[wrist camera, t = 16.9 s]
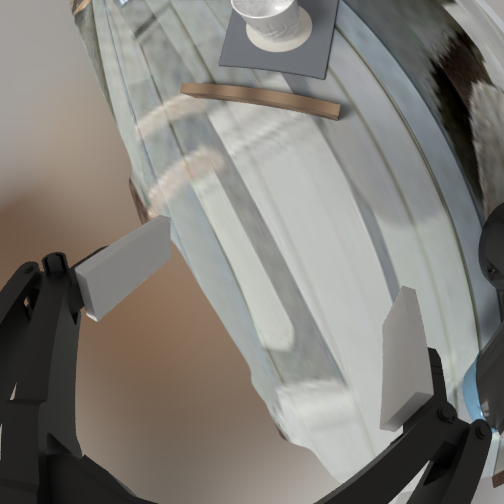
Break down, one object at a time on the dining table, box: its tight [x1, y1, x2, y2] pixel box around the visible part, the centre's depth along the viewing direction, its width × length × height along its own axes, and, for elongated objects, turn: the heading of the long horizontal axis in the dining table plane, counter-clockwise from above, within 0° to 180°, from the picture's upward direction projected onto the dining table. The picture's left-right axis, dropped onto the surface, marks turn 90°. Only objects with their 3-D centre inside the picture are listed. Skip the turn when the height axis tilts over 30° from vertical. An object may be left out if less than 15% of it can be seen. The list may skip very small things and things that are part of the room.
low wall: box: [180, 83, 340, 121], centre depth 35 cm, size 22×2×5 cm, turn 78°
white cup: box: [231, 0, 301, 43], centre depth 27 cm, size 8×8×10 cm
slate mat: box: [219, 0, 338, 80], centre depth 32 cm, size 16×16×1 cm
